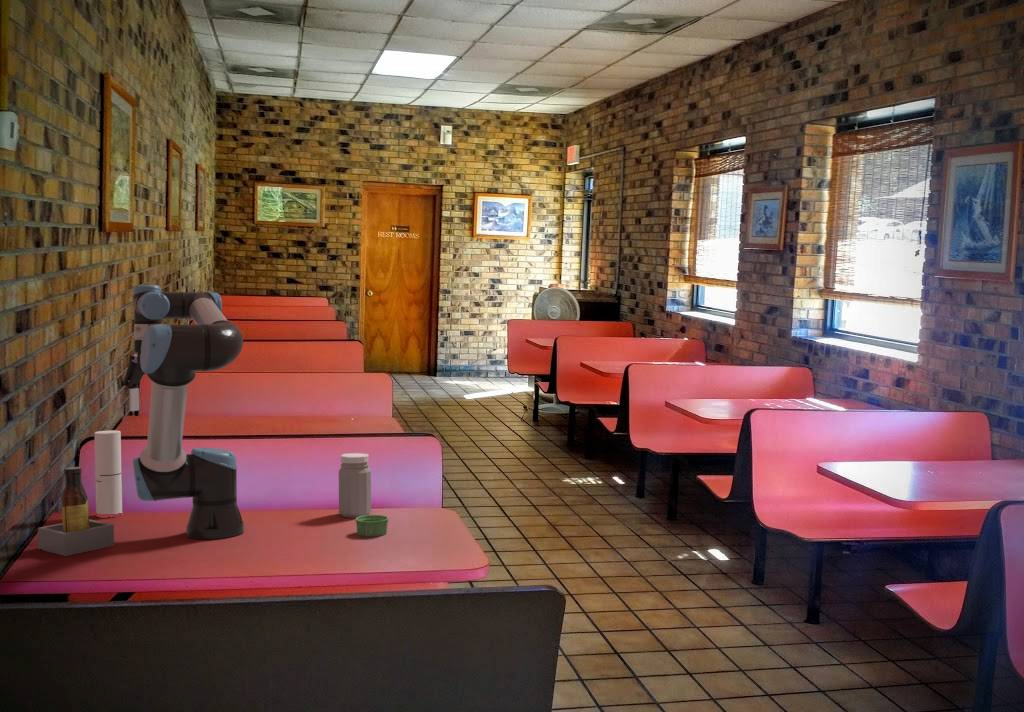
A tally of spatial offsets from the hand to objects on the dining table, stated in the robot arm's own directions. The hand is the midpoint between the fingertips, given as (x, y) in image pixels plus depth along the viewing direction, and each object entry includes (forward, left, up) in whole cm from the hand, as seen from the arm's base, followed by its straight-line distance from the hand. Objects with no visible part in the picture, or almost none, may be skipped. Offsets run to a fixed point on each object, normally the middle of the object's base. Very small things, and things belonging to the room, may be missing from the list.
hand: (149, 412), depth 285 cm
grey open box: (-12, +30, -32) cm, 45 cm away
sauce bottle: (-12, +30, -31) cm, 45 cm away
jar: (-42, -40, -32) cm, 67 cm away
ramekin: (-63, -26, -32) cm, 75 cm away
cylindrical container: (+16, +3, -32) cm, 36 cm away
